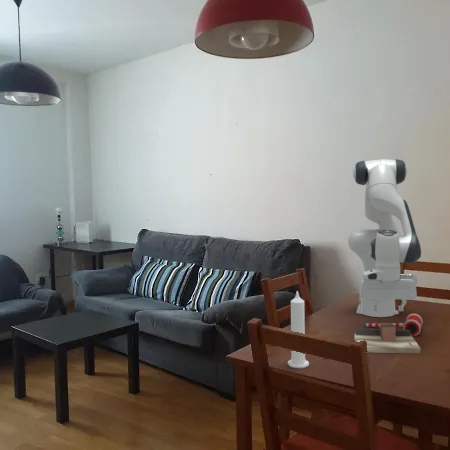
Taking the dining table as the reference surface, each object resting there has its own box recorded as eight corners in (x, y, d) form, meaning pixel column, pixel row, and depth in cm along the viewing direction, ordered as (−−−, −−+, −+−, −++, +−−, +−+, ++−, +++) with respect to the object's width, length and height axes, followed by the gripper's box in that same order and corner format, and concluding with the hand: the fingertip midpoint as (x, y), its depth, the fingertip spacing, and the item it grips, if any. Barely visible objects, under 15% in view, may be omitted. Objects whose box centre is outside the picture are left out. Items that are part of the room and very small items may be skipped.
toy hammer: (361, 331, 203) (360, 316, 202) (365, 323, 214) (365, 309, 213) (420, 337, 193) (420, 321, 193) (422, 329, 204) (422, 314, 203)
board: (354, 338, 193) (354, 328, 193) (410, 339, 190) (410, 329, 189) (359, 352, 177) (359, 341, 177) (420, 353, 174) (420, 342, 174)
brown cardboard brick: (379, 335, 189) (379, 322, 188) (392, 336, 188) (392, 323, 188) (382, 341, 182) (382, 328, 182) (395, 341, 181) (395, 328, 181)
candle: (306, 360, 170) (305, 288, 168) (310, 368, 163) (310, 293, 161) (286, 361, 170) (285, 289, 168) (289, 368, 163) (288, 294, 161)
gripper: (415, 272, 184) (414, 309, 185) (358, 272, 188) (358, 308, 188) (419, 275, 178) (418, 313, 179) (360, 275, 181) (360, 312, 182)
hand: (387, 310), depth 184 cm, fingers open, 8 cm apart
